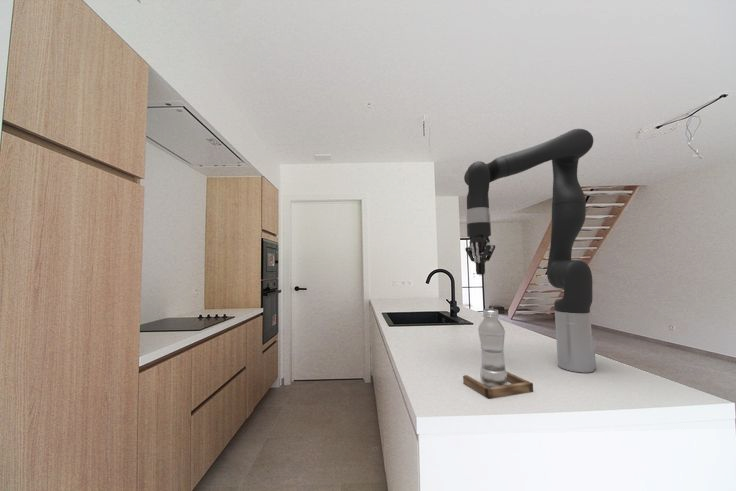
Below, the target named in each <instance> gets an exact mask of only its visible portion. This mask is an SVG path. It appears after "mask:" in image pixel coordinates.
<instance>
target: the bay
mask: <svg viewBox="0 0 736 491" xmlns="http://www.w3.org/2000/svg"><path fill="white" fill-rule="evenodd" d="M506 372H507V377H508V381H507V383H509V384H507V385H503V386H496V387H487V386H485V385H484V384H483V383H482V382H481V381H478V380H476V379H474V378H473V377H472V376H469V375H465V374H464V375H463V376H462V380H463V382H462V384H464V385H465V386H467V387H469V388H471V389H472V390H474V391H475V392H477V393H478V394H480V395H482V396H484V397H485V398H487V399H495V398H501V397H507V396H514V395H519V394H525V393H531V392H534V383H533V382H531V381H529V380H527V379H524V378H522V377H520V376H517V375H516V374H513V373H511V372H509V371H507V370H506Z"/></svg>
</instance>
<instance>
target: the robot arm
mask: <svg viewBox="0 0 736 491" xmlns="http://www.w3.org/2000/svg"><path fill="white" fill-rule="evenodd" d="M593 145H594V137H593V135H592V133H591V132H590V131H588V130H587V129H583V128H573V129H571V130H568V131H567V132H565V133H562V134H560V135H558V136H556V137H554V138H552V139H549V140H547V141H544V142H542V143H540V144H537V145H534V146H531V147H528V148H525V149H522V150H518V151H514V152H512V153H509V154H505V155H501V156H499V157H496V158H495V159H493V160H491V161H490V162H488V163H486V162H483V161H475V162H473V163H471V164H470V165H469V166H468V167H467V170H466V171H465V173H464V177H463V180H464V183H465V184H466V185H467V186H468V190H467V191H468V192H467V195H466V235H467V238H469V246H467V247H465V249H464V250H465V252H466V254H467V255H468V257H469V260H470V261H471V262H474V264H475V272H476V275H479V276H481V275H483V276H484V275H486V274H485V273H486V262H489V261H490V260H491V258H492V256H493V253H494V251H495V249H496V245H495V244H492V243H490V242H491V240H490V238H489V237H491V236H492V224H491V212H490V202H489V201H490V199H489V190H490V183H492V182H494V181H497V180H499V179H503V178H507V177H510V176H515V175H516V174H520V173H523V172H526V171H528V170H530V169H532V168H534V167H537V166H539V165H542V164H544V163H547V162H549V161H550V162H551V164H552V174H553V176H552V177H553V178H552V179H553V180H552V198H551V200H552V201H551V233H550V245H549V252H548V260H547V267H546V276H547V280H548V282H549V284H550V285H551V286H552V287H553V288H556V289H561V290H563V296H562V298H560V299H557V300H555V302H554V319H555V320H554V321H555V323H554V324H555V336H556V354H557V355H556V356H557V357H556V358H557V359H556V360H557V366H558V367H559V368H561V369H563V370H567V371H571V372H577V373H593V372H594V371H595V370H596V369H597V360H596V348H595V337H594V336H592V335H593V330H592V320H591V306H592V304H593V273H592V270H591V267H590V266H589V264H587V263H586V262H585V261H583V260H580V259H572V254H573V253H572V251H573V246H574V244H575V240H576V239H577V237H578V236H579V233H580V232H581V230H582V228H583V225H584V224H585V221H586V216H587V215H586V214H587V213H586V212H587V211H586V210H587V208H586V206H587V204H586V203H587V202H586V201H587V200H586V196H585V193H584V190H583V188H582V187H581V184H580V182H579V179H578V165H579V160H580V159H581V158H582V157H584V156H585V155H587V153H589V151H590V150H592V148H593Z"/></svg>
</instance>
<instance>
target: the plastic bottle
mask: <svg viewBox="0 0 736 491" xmlns="http://www.w3.org/2000/svg"><path fill="white" fill-rule="evenodd" d="M482 317H483V319H482V321H481V322H480V324H479V325H478V328H477V330H478V331H477V332H478V337H479V342H480V349H481V364H480V365H481V366H480V371H479V372H480V375H479V376H480V382H481V383H482V384H484V385H485V386H487V387H489V388H490V387H496V386H503V385H508V377H507V372H508V371H507V369H506V364H505V357H504V355H505V354H504V350H505V349H504V348H505V347H504V346H505V335H506V334H505V333H506V330H505V328H504V326H503V324H502V323H501V322H500V320H499V317H500V315H499V310H498V309H497V308H496V309H495V308H484V309H483V312H482ZM506 371H507V372H506Z"/></svg>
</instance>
